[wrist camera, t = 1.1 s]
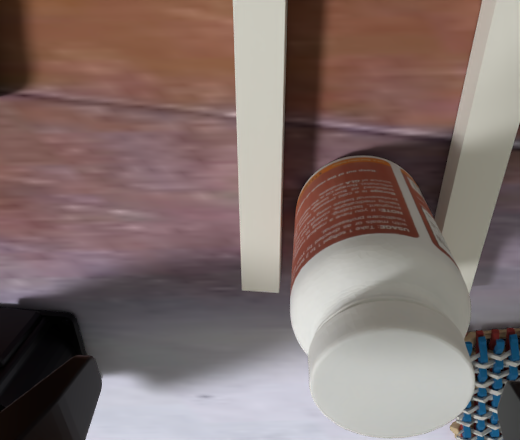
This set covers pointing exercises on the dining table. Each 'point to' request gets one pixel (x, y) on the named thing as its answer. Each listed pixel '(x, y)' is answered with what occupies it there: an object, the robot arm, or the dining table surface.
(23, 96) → the dining table surface
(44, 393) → the robot arm
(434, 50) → the dining table surface
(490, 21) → the guide track
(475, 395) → the woven mat
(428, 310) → the pill bottle
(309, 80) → the dining table surface
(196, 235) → the dining table surface
